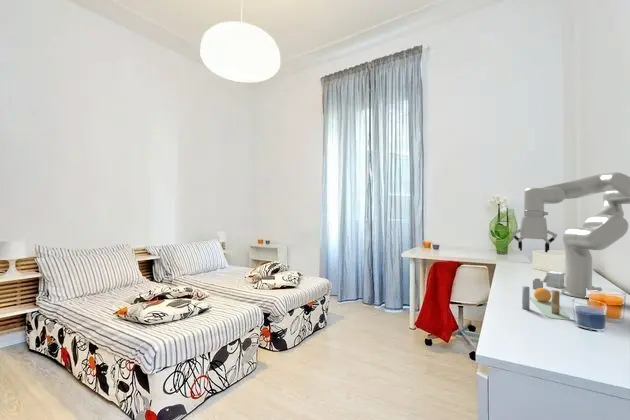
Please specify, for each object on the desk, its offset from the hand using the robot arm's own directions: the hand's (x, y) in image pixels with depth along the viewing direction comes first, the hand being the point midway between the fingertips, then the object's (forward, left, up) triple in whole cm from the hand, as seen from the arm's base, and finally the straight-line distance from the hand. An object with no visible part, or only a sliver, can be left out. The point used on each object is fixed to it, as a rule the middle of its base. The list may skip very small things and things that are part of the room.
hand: (533, 251), depth 143 cm
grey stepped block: (-12, -11, -21) cm, 27 cm away
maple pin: (+10, +24, -21) cm, 34 cm away
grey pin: (+17, +18, -21) cm, 32 cm away
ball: (+3, +9, -18) cm, 20 cm away
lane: (+6, +17, -21) cm, 28 cm away
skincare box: (-24, -17, -21) cm, 36 cm away
